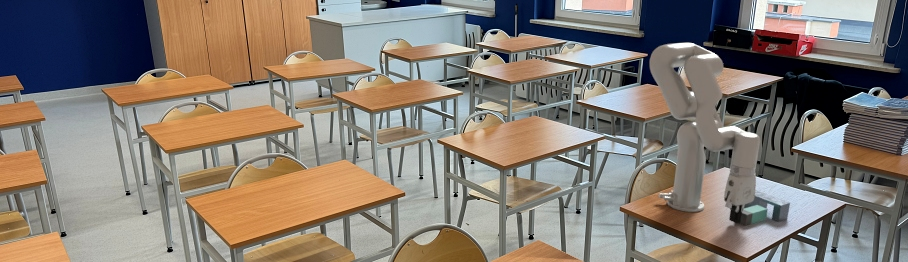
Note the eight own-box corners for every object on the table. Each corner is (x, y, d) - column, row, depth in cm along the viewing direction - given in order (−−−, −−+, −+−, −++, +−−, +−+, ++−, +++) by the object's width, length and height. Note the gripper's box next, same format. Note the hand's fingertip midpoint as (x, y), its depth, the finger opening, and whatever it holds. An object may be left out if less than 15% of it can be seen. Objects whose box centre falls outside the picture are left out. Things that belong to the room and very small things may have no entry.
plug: (745, 225, 217) (747, 214, 216) (735, 221, 220) (736, 210, 219) (766, 219, 223) (767, 208, 221) (755, 215, 226) (757, 204, 225)
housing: (778, 221, 221) (781, 205, 219) (735, 204, 235) (737, 189, 233) (787, 219, 223) (790, 202, 222) (744, 202, 237) (746, 186, 236)
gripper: (737, 177, 205) (729, 230, 210) (767, 169, 212) (758, 221, 217) (717, 169, 211) (710, 221, 216) (747, 163, 218) (739, 213, 223)
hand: (734, 221), depth 217 cm, fingers closed
